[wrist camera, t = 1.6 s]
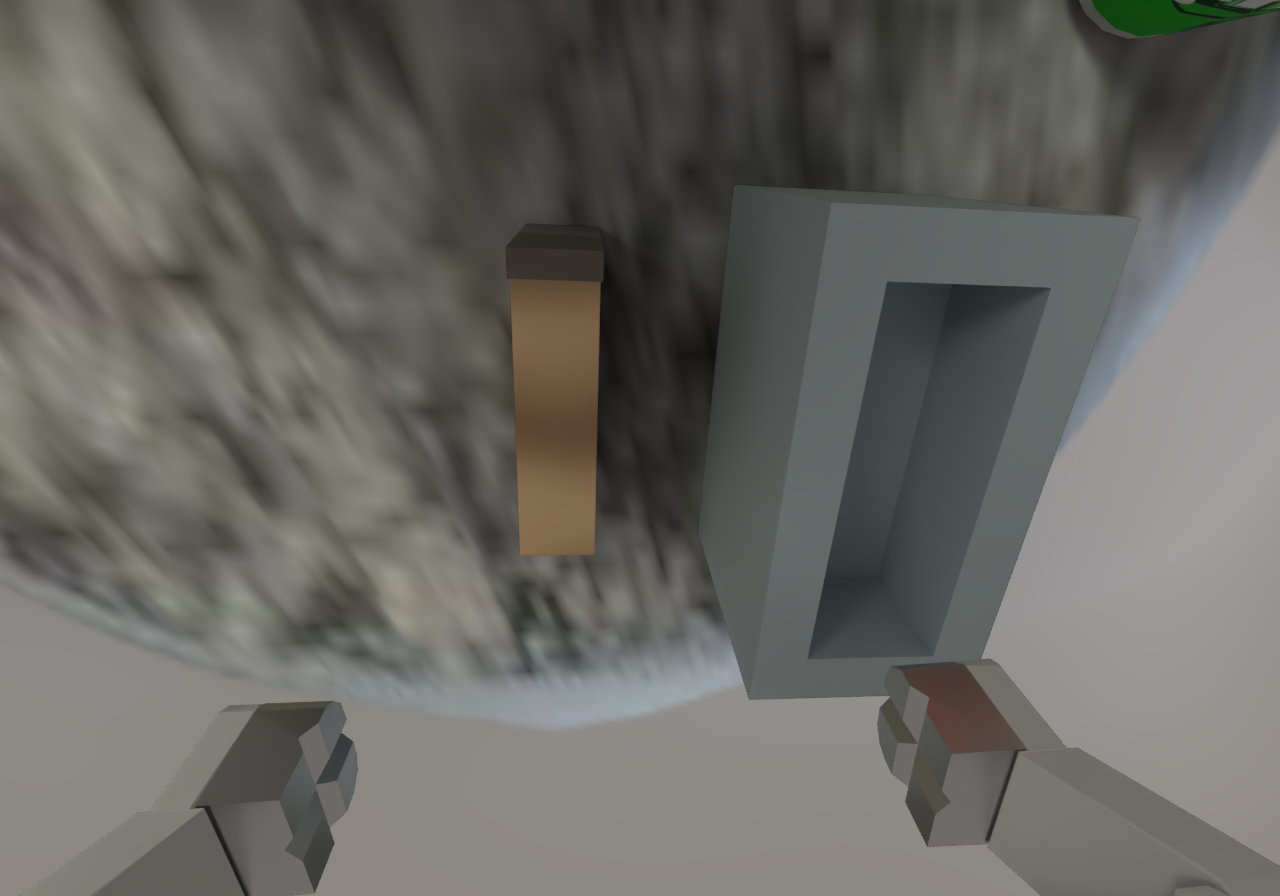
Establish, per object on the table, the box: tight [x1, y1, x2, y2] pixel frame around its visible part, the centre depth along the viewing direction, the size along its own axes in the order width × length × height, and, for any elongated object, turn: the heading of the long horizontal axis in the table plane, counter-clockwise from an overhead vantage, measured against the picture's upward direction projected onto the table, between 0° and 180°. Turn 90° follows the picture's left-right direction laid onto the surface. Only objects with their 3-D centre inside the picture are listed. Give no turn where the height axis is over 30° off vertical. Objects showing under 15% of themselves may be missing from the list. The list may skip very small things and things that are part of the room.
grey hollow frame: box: [698, 185, 1141, 700], centre depth 26 cm, size 9×18×12 cm, turn 177°
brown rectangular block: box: [506, 224, 604, 555], centre depth 27 cm, size 12×3×8 cm, turn 177°
